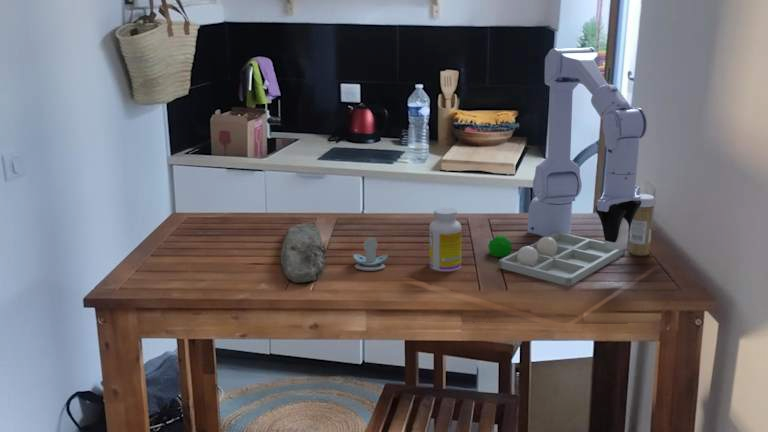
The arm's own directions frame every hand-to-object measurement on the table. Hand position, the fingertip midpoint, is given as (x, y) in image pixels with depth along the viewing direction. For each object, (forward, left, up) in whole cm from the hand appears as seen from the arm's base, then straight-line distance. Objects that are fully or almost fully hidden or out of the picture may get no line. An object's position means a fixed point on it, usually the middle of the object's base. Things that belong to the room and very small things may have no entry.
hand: (616, 238), depth 156 cm
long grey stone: (-59, -30, -9) cm, 67 cm away
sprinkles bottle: (-2, +16, -9) cm, 18 cm away
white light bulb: (0, 0, -2) cm, 2 cm away
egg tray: (-12, +1, -9) cm, 15 cm away
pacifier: (-43, -26, -9) cm, 51 cm away
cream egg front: (-16, -7, -8) cm, 19 cm away
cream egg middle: (-16, +1, -8) cm, 18 cm away
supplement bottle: (-29, -17, -9) cm, 35 cm away
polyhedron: (-24, -4, -9) cm, 26 cm away
